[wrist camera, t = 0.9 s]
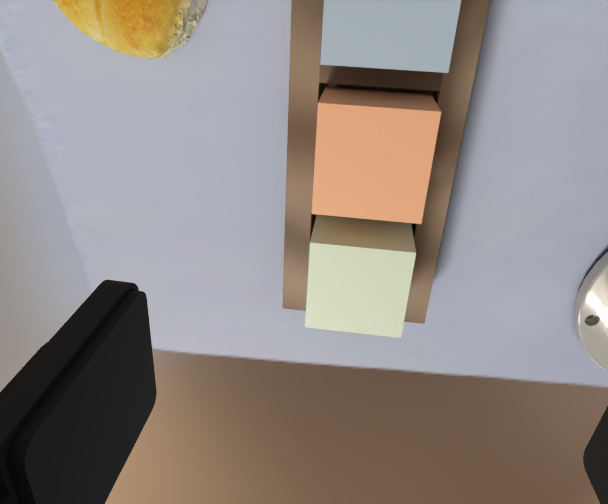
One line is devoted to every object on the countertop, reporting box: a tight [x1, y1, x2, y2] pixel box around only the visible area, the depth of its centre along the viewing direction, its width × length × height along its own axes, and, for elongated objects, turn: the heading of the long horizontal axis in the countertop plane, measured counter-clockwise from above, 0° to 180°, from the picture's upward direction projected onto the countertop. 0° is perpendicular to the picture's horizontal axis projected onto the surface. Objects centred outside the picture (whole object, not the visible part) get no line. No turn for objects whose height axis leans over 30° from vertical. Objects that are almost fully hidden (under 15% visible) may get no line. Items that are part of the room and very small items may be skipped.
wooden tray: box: [283, 0, 490, 324], centre depth 27 cm, size 22×9×3 cm, turn 177°
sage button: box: [305, 215, 416, 338], centre depth 28 cm, size 5×5×4 cm
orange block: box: [312, 87, 441, 224], centre depth 24 cm, size 5×5×4 cm
